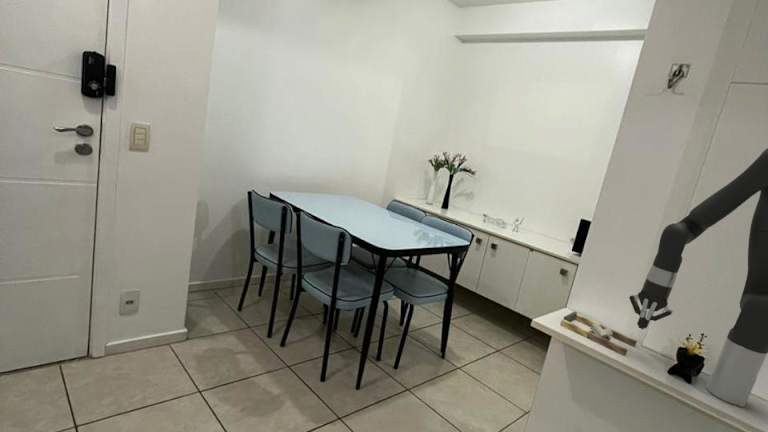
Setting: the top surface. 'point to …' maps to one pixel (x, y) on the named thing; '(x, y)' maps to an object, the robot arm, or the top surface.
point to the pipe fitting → (601, 331)
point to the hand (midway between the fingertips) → (641, 327)
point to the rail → (574, 316)
